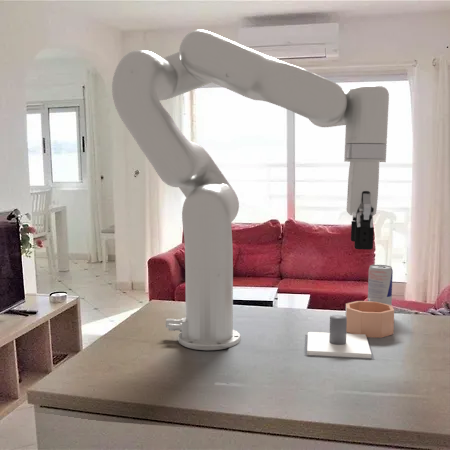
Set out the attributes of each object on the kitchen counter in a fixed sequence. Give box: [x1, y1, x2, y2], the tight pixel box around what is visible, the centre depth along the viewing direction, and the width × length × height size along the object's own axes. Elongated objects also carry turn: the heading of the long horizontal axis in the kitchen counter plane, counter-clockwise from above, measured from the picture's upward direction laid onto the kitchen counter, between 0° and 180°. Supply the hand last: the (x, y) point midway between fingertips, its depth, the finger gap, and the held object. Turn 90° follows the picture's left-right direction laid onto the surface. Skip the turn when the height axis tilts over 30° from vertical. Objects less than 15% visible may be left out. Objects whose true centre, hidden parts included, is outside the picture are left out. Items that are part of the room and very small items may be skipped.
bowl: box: [345, 300, 395, 339], centre depth 118 cm, size 10×10×6 cm
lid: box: [307, 314, 371, 358], centre depth 107 cm, size 12×12×6 cm
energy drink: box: [367, 264, 394, 306], centre depth 129 cm, size 5×5×12 cm
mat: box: [304, 334, 375, 361], centre depth 108 cm, size 13×13×1 cm
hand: (361, 245), depth 105 cm, fingers open, 9 cm apart
